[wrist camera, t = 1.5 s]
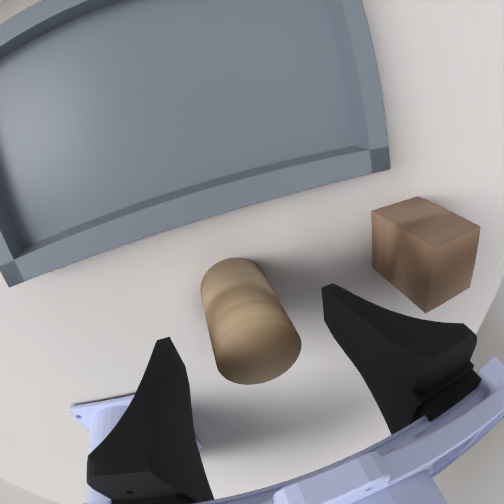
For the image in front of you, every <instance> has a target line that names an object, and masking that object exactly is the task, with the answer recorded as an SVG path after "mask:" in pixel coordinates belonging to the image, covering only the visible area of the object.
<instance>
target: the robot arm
mask: <svg viewBox="0 0 504 504" xmlns="http://www.w3.org/2000/svg"><path fill="white" fill-rule="evenodd" d="M322 299H323V311H324V321H325V323H326V324H327V326H328V328H329V330H330V332H331V333H332V335H333V337H334V338H335V340H336V341H337V342H338V344H339V345H340V346H341V348H342V349H343V350H344V352H345V353H346V354H347V356H348V357H349V358H350V360H351V361H352V362H353V364H354V365H355V366H356V368H357V369H358V371H359V372H360V374H361V375H362V377H363V379H364V380H365V382H366V384H367V386H368V387H369V389H370V391H371V393H372V395H373V397H374V399H375V400H376V402H377V404H378V406H379V408H380V410H381V412H382V415H383V417H384V419H385V421H386V423H387V425H388V428H389V430H390V432H391V436H389V437H387V438H385V439H383V440H382V441H380V442H378V443H376V444H374V445H372V446H370V447H368V448H366V449H364V450H362V451H360V452H358V453H356V454H354V455H351V456H349V457H347V458H345V459H343V460H340V461H338V462H336V463H333V464H331V465H328V466H326V467H324V468H321V469H319V470H316V471H313V472H311V473H308V474H305V475H303V476H300V477H297V478H294V479H291V480H288V481H285V482H282V483H279V484H276V485H272V486H269V487H266V488H262V489H258V490H255V491H251V492H247V493H243V494H239V495H235V496H230V497H226V498H221V499H216V500H214V497H213V495H212V492H211V489H210V486H209V483H208V480H207V477H206V474H205V471H204V468H203V464H202V461H201V457H200V453H199V450H201V449H202V446H201V444H200V443H199V442H198V440H197V439H196V437H195V433H194V427H193V418H192V408H191V398H190V387H189V381H188V377H187V372H186V367H185V365H184V363H183V361H182V359H181V358H180V356H179V354H178V352H177V350H176V348H175V346H174V344H173V343H172V341H171V339H170V337H167V338H164V339H160V340H157V342H156V344H155V346H154V349H153V352H152V355H151V358H150V360H149V363H148V366H147V368H146V371H145V373H144V376H143V378H142V380H141V382H140V385H139V387H138V389H137V391H136V393H135V395H130V396H125V397H121V398H115V399H110V400H105V401H99V402H94V403H88V404H82V405H75V406H71V407H70V409H69V412H70V413H71V414H72V415H73V416H74V417H75V418H76V419H77V420H78V421H79V422H80V423H81V424H82V425H83V426H84V427H85V428H86V429H87V430H88V431H89V432H90V437H89V450H88V460H87V504H448V502H447V501H446V499H445V498H444V496H443V495H442V493H441V491H440V490H439V488H438V487H437V485H436V484H435V482H434V481H433V479H432V478H433V477H434V476H436V475H437V474H438V473H440V472H441V471H442V470H444V469H445V468H446V467H448V466H449V465H450V464H452V463H453V462H454V461H455V460H457V459H458V458H459V457H460V456H462V455H463V454H464V453H465V452H466V451H468V450H469V449H470V448H471V447H472V446H473V445H474V444H475V443H477V442H478V441H479V440H480V439H481V438H482V437H483V436H485V434H487V433H488V432H489V431H490V430H491V429H492V428H493V427H494V426H495V425H496V424H497V423H498V422H499V421H500V420H501V419H503V418H504V364H502V362H501V361H500V360H499V359H497V358H496V356H494V357H492V358H491V359H490V360H489V361H488V362H486V363H485V364H484V365H483V366H482V367H481V368H480V369H479V370H478V371H477V372H476V373H475V372H474V370H473V367H474V365H473V364H472V363H471V362H470V359H471V356H472V354H473V351H474V349H475V346H476V343H477V336H476V334H475V333H474V332H472V331H471V330H470V329H469V328H468V327H467V326H466V325H465V324H463V323H443V322H434V321H428V320H422V319H418V318H413V317H409V316H406V315H402V314H399V313H396V312H393V311H390V310H387V309H385V308H382V307H380V306H378V305H375V304H373V303H371V302H369V301H367V300H364V299H362V298H360V297H358V296H356V295H354V294H353V293H351V292H349V291H347V290H345V289H343V288H341V287H339V286H337V285H335V284H330V285H328V286H325V287H322ZM84 504H86V503H84Z"/></svg>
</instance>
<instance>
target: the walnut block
mask: <svg viewBox="0 0 504 504" xmlns="http://www.w3.org/2000/svg"><path fill="white" fill-rule="evenodd" d="M371 216H372V253H373V268H374V269H375V270H376V271H378V272H379V273H380V274H381V275H382V276H383V277H385V278H386V279H387V280H388V281H389V282H390V283H392V284H393V285H394V286H395V287H396V288H397V289H398V290H400V291H401V292H402V293H403V294H404V295H405V296H406V297H408V298H409V299H410V300H411V301H412V302H413V303H414V304H415V305H417V306H418V307H419V308H420V309H421V310H422V311H423V312H424V313H427V312H429V311H431V310H432V309H434V308H436V307H438V306H439V305H441V304H443V303H444V302H446V301H448V300H449V299H451V298H453V297H454V296H456V295H458V294H459V293H461V292H462V291H464V290H466V289H467V288H469V287H470V283H471V279H472V274H473V269H474V264H475V259H476V253H477V247H478V241H479V234H480V226H478V225H476V224H474V223H472V222H470V221H468V220H466V219H464V218H462V217H460V216H458V215H456V214H454V213H452V212H450V211H448V210H446V209H444V208H442V207H440V206H438V205H435V204H433V203H431V202H429V201H427V200H425V199H422V198H420V197H415V198H412V199H408V200H405V201H402V202H399V203H395V204H392V205H389V206H385V207H382V208H379V209H376V210H372V211H371Z"/></svg>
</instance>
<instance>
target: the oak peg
mask: <svg viewBox="0 0 504 504" xmlns="http://www.w3.org/2000/svg"><path fill="white" fill-rule="evenodd" d="M201 296H202V301H203V306H204V311H205V316H206V320H207V325H208V330H209V334H210V339H211V343H212V347H213V352H214V356H215V360H216V365H217V368H218V370H219V372H220V373H221V374H222V376H223V377H225V378H226V379H228V380H229V381H232V382H234V383H238V384H246V385H251V384H259V383H264V382H267V381H270V380H272V379H274V378H276V377H278V376H280V375H282V374H283V373H284V372H286V371H287V370H288V369H289V368H290V367H291V366H292V365H293V364H294V363H295V361H296V360H297V358H298V356H299V354H300V350H301V339H300V336H299V334H298V333H297V331H296V329H295V327H294V326H293V324H292V322H291V321H290V319H289V317H288V316H287V314H286V312H285V310H284V309H283V307H282V305H281V304H280V302H279V300H278V298H277V297H276V295H275V293H274V292H273V290H272V288H271V287H270V285H269V283H268V281H267V280H266V278H265V276H264V275H263V273H262V271H261V270H260V268H259V267H258V266H257V265H256V264H254V263H253V262H251V261H249V260H246V259H242V258H230V259H226V260H223V261H220V262H218V263H216V264H215V265H214V266H212V267H211V268H210V269H209V270H208V271H207V272H206V274H205V275H204V277H203V279H202V282H201Z"/></svg>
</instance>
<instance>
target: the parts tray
mask: <svg viewBox="0 0 504 504" xmlns="http://www.w3.org/2000/svg"><path fill="white" fill-rule="evenodd" d="M389 169H390V159H389V147H388V137H387V127H386V119H385V111H384V104H383V97H382V91H381V84H380V79H379V73H378V68H377V63H376V58H375V53H374V48H373V44H372V39H371V35H370V31H369V27H368V23H367V19H366V15H365V11H364V8H363V4H362V1H361V0H42V1H40V2H38V3H36V4H34V5H32V6H30V7H29V8H27V9H25V10H23V11H22V12H20V13H18V14H17V15H15V16H13V17H12V18H10V19H9V20H7V21H6V22H4V23H3V24H1V25H0V271H1V273H2V275H3V277H4V279H5V281H6V283H7V284H8V286H9V287H12V286H14V285H17V284H19V283H22V282H24V281H27V280H29V279H32V278H35V277H37V276H40V275H42V274H45V273H48V272H50V271H53V270H55V269H58V268H61V267H64V266H66V265H69V264H72V263H74V262H77V261H80V260H83V259H85V258H88V257H91V256H94V255H97V254H99V253H102V252H105V251H108V250H111V249H114V248H117V247H119V246H122V245H125V244H128V243H131V242H134V241H137V240H140V239H143V238H146V237H149V236H152V235H155V234H158V233H161V232H164V231H168V230H171V229H174V228H177V227H180V226H183V225H186V224H190V223H193V222H196V221H199V220H203V219H206V218H209V217H212V216H216V215H219V214H222V213H226V212H229V211H233V210H236V209H239V208H243V207H246V206H250V205H253V204H257V203H260V202H264V201H267V200H271V199H274V198H278V197H282V196H285V195H289V194H293V193H296V192H300V191H304V190H308V189H312V188H315V187H319V186H323V185H327V184H331V183H335V182H339V181H343V180H347V179H351V178H355V177H359V176H363V175H368V174H372V173H376V172H380V171H385V170H389Z"/></svg>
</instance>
